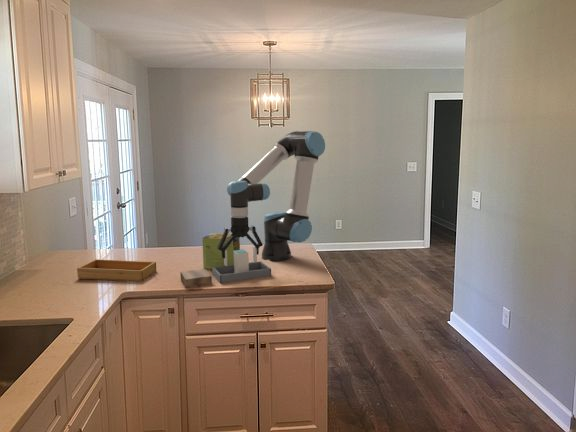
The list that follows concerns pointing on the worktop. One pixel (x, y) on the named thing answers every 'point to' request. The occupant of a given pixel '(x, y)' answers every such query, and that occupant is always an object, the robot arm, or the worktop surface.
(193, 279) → the stand
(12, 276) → the worktop surface
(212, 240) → the protein box
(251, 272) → the bin
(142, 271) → the tray
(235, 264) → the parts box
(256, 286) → the worktop surface
